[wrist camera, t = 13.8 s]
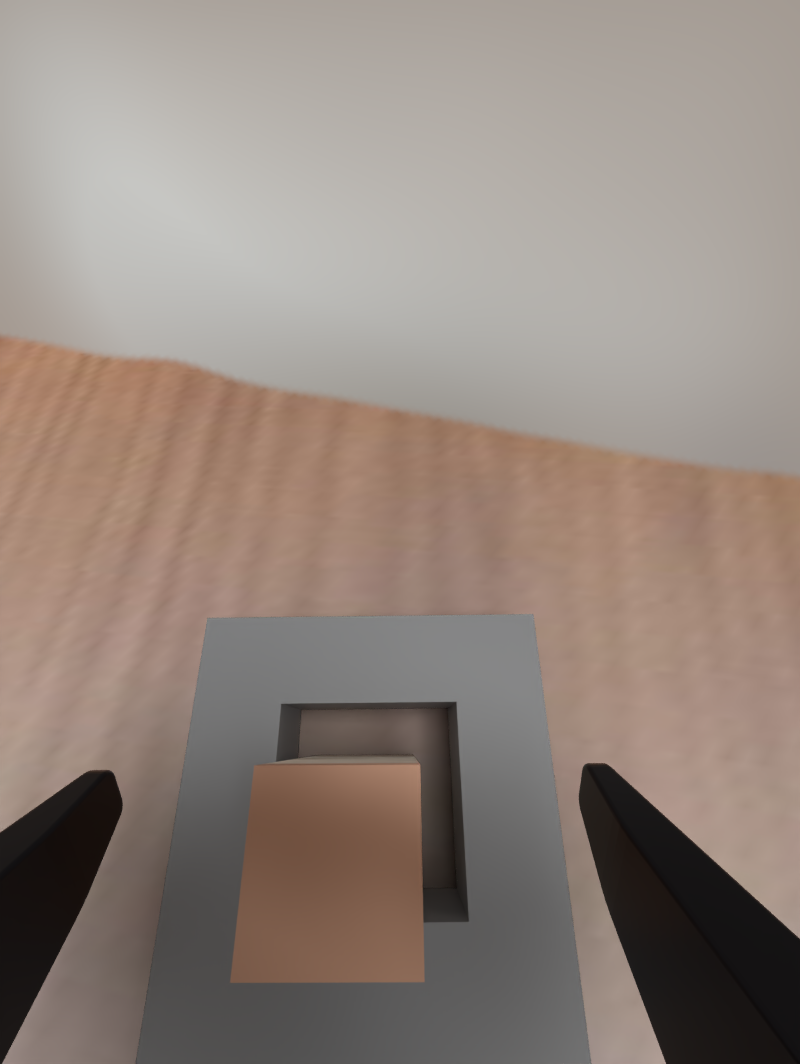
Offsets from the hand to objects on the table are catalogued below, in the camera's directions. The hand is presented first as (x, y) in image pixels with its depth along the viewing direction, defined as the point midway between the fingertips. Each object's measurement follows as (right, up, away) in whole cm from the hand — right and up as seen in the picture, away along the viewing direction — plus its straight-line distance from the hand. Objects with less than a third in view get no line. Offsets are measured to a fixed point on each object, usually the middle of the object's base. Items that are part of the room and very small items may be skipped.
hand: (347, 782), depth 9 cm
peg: (-1, -7, +12) cm, 14 cm away
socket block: (0, -7, +12) cm, 14 cm away
